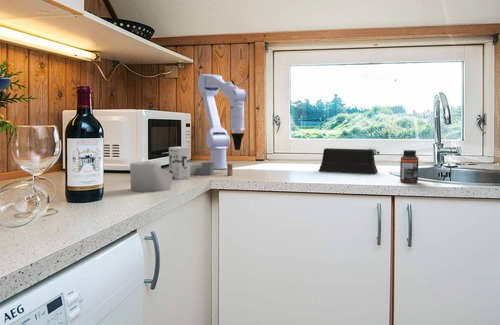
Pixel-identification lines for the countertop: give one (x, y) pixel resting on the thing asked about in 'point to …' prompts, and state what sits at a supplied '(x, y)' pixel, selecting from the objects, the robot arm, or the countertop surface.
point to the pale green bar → (194, 168)
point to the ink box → (179, 162)
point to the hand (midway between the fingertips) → (237, 149)
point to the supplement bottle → (409, 167)
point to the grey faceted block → (205, 169)
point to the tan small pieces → (228, 169)
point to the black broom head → (348, 161)
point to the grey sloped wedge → (149, 177)
